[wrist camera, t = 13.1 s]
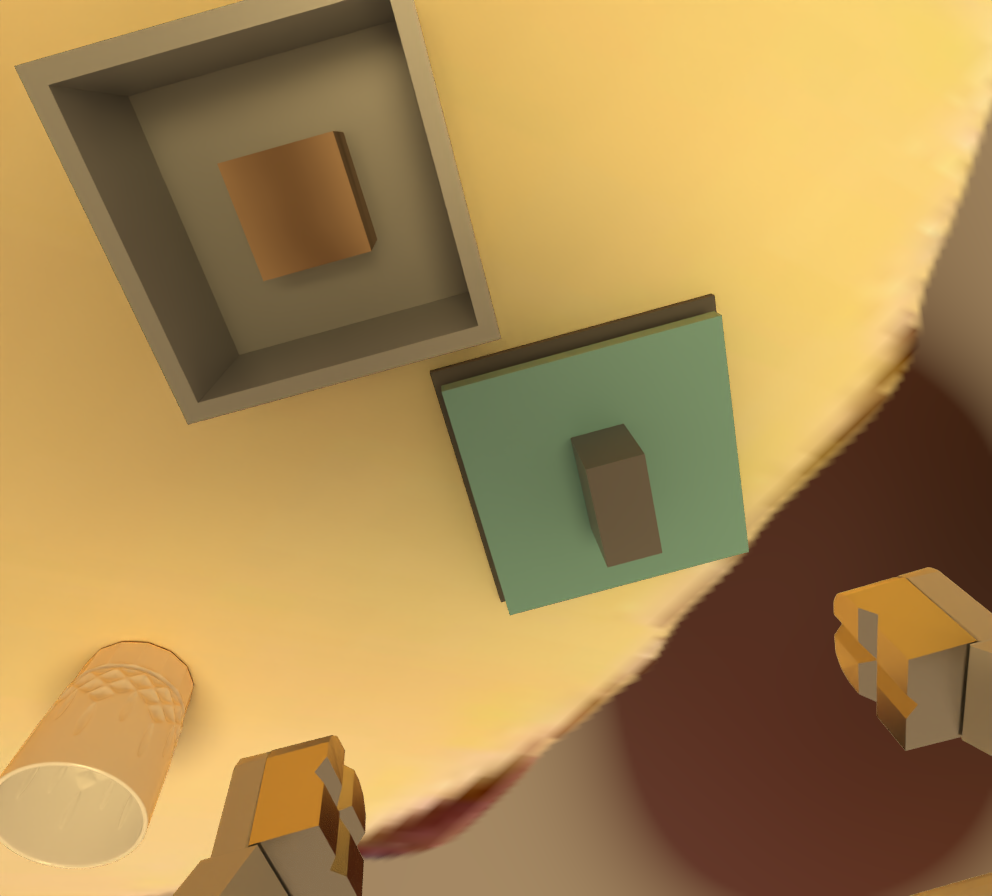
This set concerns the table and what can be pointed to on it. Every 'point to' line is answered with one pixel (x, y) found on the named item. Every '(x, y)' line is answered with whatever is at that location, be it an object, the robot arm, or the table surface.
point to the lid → (604, 462)
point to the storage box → (211, 214)
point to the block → (300, 204)
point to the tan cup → (96, 760)
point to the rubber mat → (548, 349)
